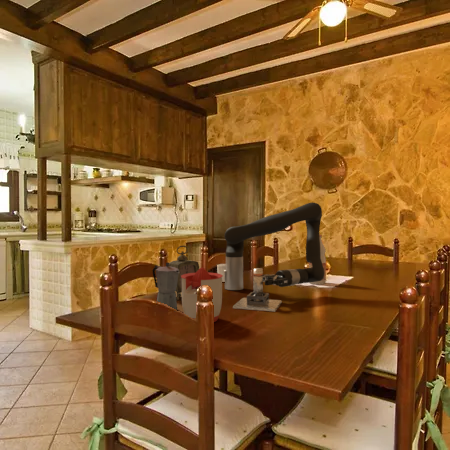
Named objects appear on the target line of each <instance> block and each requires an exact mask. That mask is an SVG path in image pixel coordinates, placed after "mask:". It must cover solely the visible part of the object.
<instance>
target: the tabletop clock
mask: <svg viewBox="0 0 450 450" xmlns="http://www.w3.org/2000/svg"><path fill="white" fill-rule="evenodd" d="M180 248H186V251H185V252H184V251H183V250H182V251H181V252H178V251H179V249H180ZM188 252H189V247H188V246H187V245H180V246H178V247H177V249H176V253H177V254H178V255H179V256H177V259H175V260H173V261H169V262H168V263H169V266H170V267H175V268H178V269H179V275H178V281H177V287H176V291H175V292H176V301H179V300H180V298H182V278H181V276H182V275H183V274H188V273H196V272H197V271H198V270H199V269H200V264H199V262H198V261H196V260H191V259H190V260H188V259H189V258H188V256H187V255H186V254H187V253H188Z"/></svg>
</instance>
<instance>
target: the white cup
mask: <svg viewBox="0 0 450 450" xmlns="http://www.w3.org/2000/svg"><path fill="white" fill-rule="evenodd" d="M216 267H217V269H216V270H217V271H216V273H218V274H221V275H223V277H222V282H225V271H226V263H220V264H217V265H216Z"/></svg>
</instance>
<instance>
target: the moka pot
mask: <svg viewBox="0 0 450 450" xmlns="http://www.w3.org/2000/svg"><path fill="white" fill-rule="evenodd" d="M169 263H170V262H165V266H158V265H156V264H155V265H154V267H153V268H152V270H151V271H152V277H153V280H154V286H155V288H157V289H158V291H157V299H156V302H157V301H158V302H161V303H164V304H167V305H168V306H170V307H172V308H174V309H176V311H177V310H178V303H177V301H178V300H176V297H177V292H176V287H177V281H178V275H179V269H178V268H175V267H170V266H169Z"/></svg>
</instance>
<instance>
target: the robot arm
mask: <svg viewBox="0 0 450 450" xmlns="http://www.w3.org/2000/svg"><path fill="white" fill-rule="evenodd" d="M322 216H323V209H322V207H321V205H320V204H319V203H317V202H308V203H305V204H303V205H300V206H298V207H296V208H293V209H289V210H286V211H282V212H278V213H275V214H271V215H268V216H265V217H262V218H259V219H256V220H254V221H252V222H250V223H247V224H242V225H237V226H230V227H228V228H227V229H226V231H225V232H224V235H223V236H224V240H225V241H226V249H225V264H226V271H225V283H224V290H228V291H241V290H244V251H245V249H244V248H245V247H244V243H245V241H246V240H249V239H251V238H256V237H262V236H266V235H273V234H275V233H278V232H282V231H284V230H286V229H287V228H289V227H290V226H292V225H294V224H296V223H299V222H304V221H305V225H306V242H305V261H306V262H307V263H308V264H309V263H312V268H309V267H308V268H295V269H294V268H293V269H291V268H289V269H281V270H277V271H276V273H274V274H272V273H271V274H269V273H268V274H267V273H266V274H263V283H264V285H265V286H272V285H273V286H277V287H280V288H284V287H291V286H297V285H301V284H307V283H309V284H311V283H310V282H317V281H321V280H322V279H323V278H324V268H323V265H322V261H321V251H320V236H319V234H320V230H321V221H322Z"/></svg>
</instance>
